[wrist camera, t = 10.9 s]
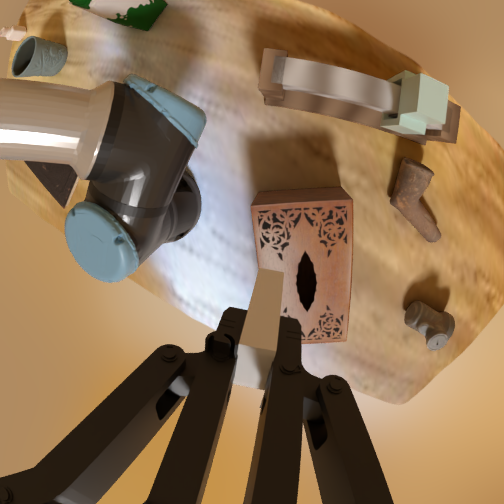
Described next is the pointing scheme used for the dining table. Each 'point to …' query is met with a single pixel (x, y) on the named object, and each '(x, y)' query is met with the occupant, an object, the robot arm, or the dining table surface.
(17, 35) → the salt shaker
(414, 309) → the pipe fitting
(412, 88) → the pale green slider block
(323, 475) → the robot arm
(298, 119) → the dining table surface
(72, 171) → the hardcover book
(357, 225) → the dining table surface
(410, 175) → the pipe
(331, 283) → the tissue box cover
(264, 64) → the rail
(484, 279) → the dining table surface
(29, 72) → the grey green cup
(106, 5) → the milk carton
